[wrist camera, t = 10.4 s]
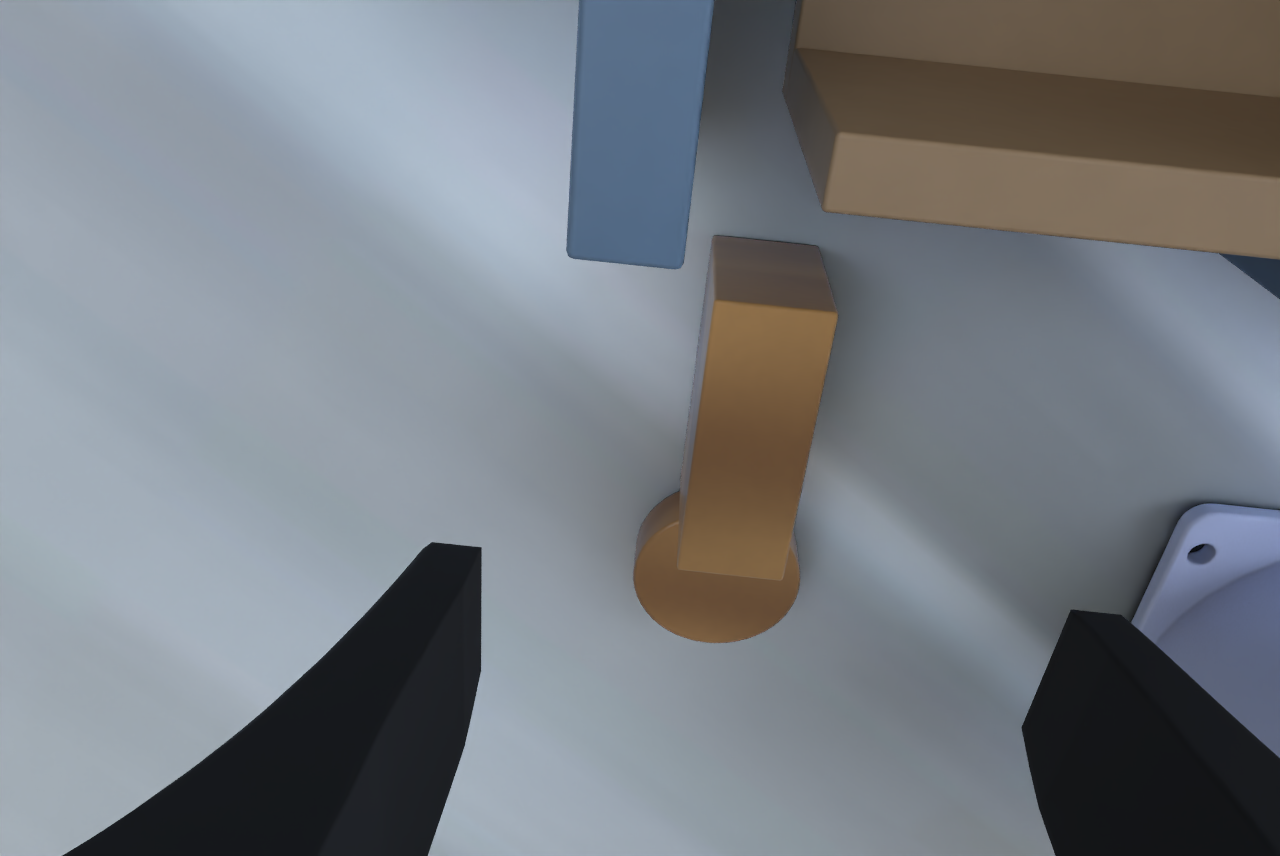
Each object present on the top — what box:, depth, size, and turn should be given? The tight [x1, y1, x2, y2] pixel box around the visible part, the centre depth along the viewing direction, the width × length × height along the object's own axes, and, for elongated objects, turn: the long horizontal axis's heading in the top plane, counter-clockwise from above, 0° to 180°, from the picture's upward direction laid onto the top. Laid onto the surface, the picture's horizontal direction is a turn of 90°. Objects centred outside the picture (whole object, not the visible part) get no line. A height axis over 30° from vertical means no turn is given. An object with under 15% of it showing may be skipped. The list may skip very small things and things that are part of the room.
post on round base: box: [633, 236, 839, 643], centre depth 18 cm, size 9×3×3 cm, turn 175°
